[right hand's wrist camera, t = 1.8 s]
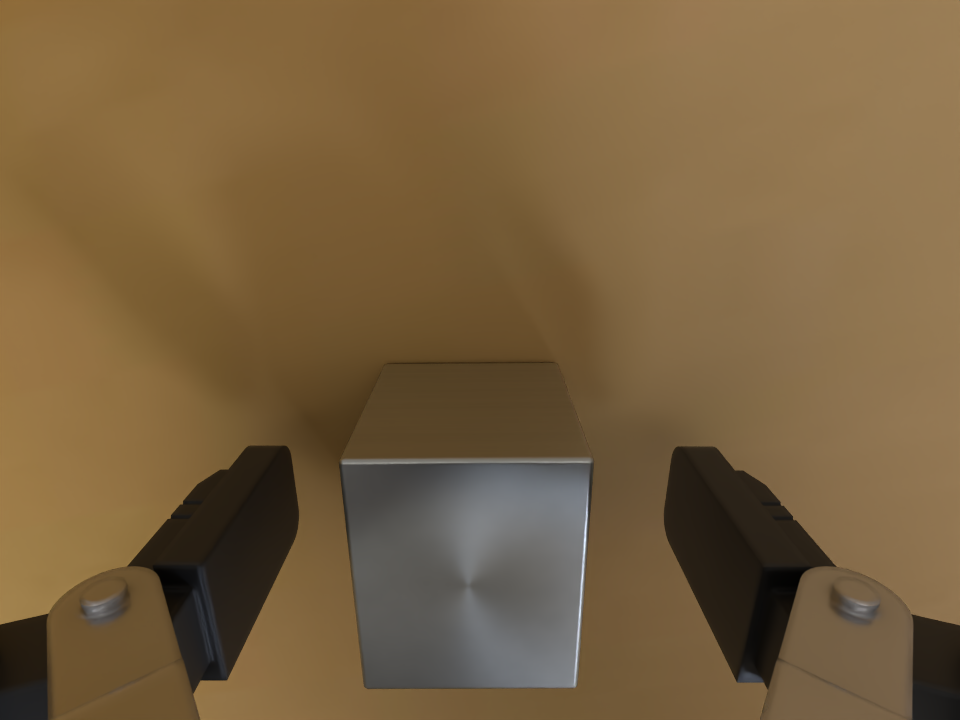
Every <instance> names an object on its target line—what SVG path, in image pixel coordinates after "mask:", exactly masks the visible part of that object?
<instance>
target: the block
mask: <svg viewBox="0 0 960 720" xmlns="http://www.w3.org/2000/svg"><path fill="white" fill-rule="evenodd" d="M339 468H340V477H341V486H342V495H343V504H344V513H345V522H346V531H347V540H348V549H349V558H350V567H351V576H352V585H353V594H354V603H355V612H356V621H357V630H358V639H359V649H360V658H361V667H362V676H363V684H364V687H365V688H367V689H492V688H575V687H576V686H577V684H578V674H579V660H580V647H581V633H582V619H583V606H584V592H585V578H586V565H587V551H588V537H589V524H590V510H591V496H592V483H593V469H594V459H593V457H592V454H591V451H590V449H589V446H588V443H587V441H586V438H585V435H584V433H583V430H582V427H581V425H580V422H579V419H578V417H577V414H576V411H575V409H574V406H573V403H572V401H571V398H570V395H569V393H568V390H567V387H566V385H565V382H564V379H563V377H562V374H561V371H560V369H559V366H558V364H556V363H449V364H386V365H384V367H383V369H382V371H381V374H380V376H379V378H378V380H377V382H376V384H375V386H374V388H373V390H372V393H371V395H370V397H369V399H368V401H367V403H366V405H365V407H364V409H363V412H362V414H361V416H360V418H359V420H358V422H357V424H356V426H355V428H354V431H353V433H352V435H351V437H350V439H349V441H348V443H347V445H346V447H345V450H344V452H343V454H342V456H341V458H340V461H339Z"/></svg>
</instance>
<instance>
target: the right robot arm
mask: <svg viewBox="0 0 960 720" xmlns="http://www.w3.org/2000/svg"><path fill="white" fill-rule="evenodd" d="M780 503H781V502H780V501H779V500H778V499H777V498H776V497H775V495H774V494H773V493H772V492H771V491H770V490H769V488H768V487H767V486H766V485H765V484H763V483H761V482H760V481H758V480H757V479H755V478H754V477H752V476H750V475H749V474H747V473H746V472H744V471H735V470H734V469H733V468H732V466H731V465H730V464H729V463H728V462H727V460H726V459H725V458H724V457H723V455H722V454H721V453H720V452H719V450H718V449H717V448H715V447H676V448H675V449H674V451H673V454H672V459H671V466H670V473H669V480H668V487H667V494H666V501H665V508H664V525H665V531H666V535H667V539H668V541H669V544H670V546H671V548H672V550H673V552H674V554H675V556H676V558H677V560H678V562H679V564H680V566H681V568H682V570H683V572H684V574H685V576H686V578H687V580H688V583H689V585H690V587H691V589H692V591H693V593H694V595H695V597H696V599H697V601H698V603H699V605H700V607H701V609H702V611H703V613H704V615H705V617H706V619H707V622H708V624H709V626H710V628H711V630H712V632H713V634H714V636H715V638H716V640H717V642H718V644H719V646H720V648H721V650H722V652H723V654H724V656H725V658H726V661H727V663H728V665H729V667H730V669H731V671H732V673H733V675H734V677H735V679H736V681H737V682H764V683H765V685H766V687H767V689H768V692H767V696H766V700H765V703H764V707H763V710H762V714H761V717H760V720H960V625H955V624H951V623H946V622H942V621H938V620H933V619H929V618H924V617H920V616H916V615H912V614H911V612H910V610H909V609H908V607H907V606H906V604H905V603H904V602H903V601H902V600H901V599H900V598H899V597H898V596H897V595H896V594H895V593H893V592H892V591H891V590H889V589H888V588H887V587H885V586H884V585H882V584H880V583H879V582H877V581H875V580H873V579H871V578H869V577H867V576H865V575H862V574H860V573H857V572H854V571H851V570H848V569H843V568H838V567H836V566H835V565H834V564H833V562H832V561H831V560H830V559H829V558H828V557H827V555H826V554H825V553H824V552H823V551H822V550H821V549H820V547H819V546H818V545H817V544H816V543H815V542H814V540H813V539H812V538H811V537H810V536H809V535H808V534H807V532H806V531H805V530H804V529H803V528H802V527H801V525H800V524H799V523H798V522H797V521H796V520H793V516H792V515H791V514H790V513H789V512H788V510H787V509H786V508H785V507H784V506H781V504H780ZM298 521H299V509H298V501H297V494H296V487H295V480H294V473H293V466H292V458H291V453H290V451H289V449H288V447H287V446H248V447H247V448H246V449H245V450H244V451H243V452H242V453H241V455H240V456H239V457H238V458H237V460H236V461H235V462H234V463H233V465H232V466H231V467H230V468H229V470H219V471H218V472H216V473H214V474H213V475H211V476H210V477H208V478H207V479H205V480H204V481H202V482H200V483H199V484H197V486H196V487H195V488H194V489H193V490H192V491H191V493H190V494H189V495H188V496H187V497H186V498H185V500H184V501H183V505H179V507H178V508H177V509H176V510H175V511H174V512H173V514H172V515H171V519H167V521H166V522H165V523H164V524H163V525H162V526H161V528H160V529H159V530H158V531H157V532H156V533H155V535H154V536H153V537H152V538H151V539H150V540H149V542H148V543H147V544H146V545H145V546H144V547H143V549H142V550H141V551H140V552H139V553H138V554H137V556H136V557H135V558H134V559H133V560H132V561H131V563H130V564H129V565H128V566H127V567H122V568H117V569H112V570H109V571H106V572H103V573H100V574H98V575H95V576H93V577H91V578H89V579H87V580H85V581H83V582H81V583H80V584H78V585H76V586H75V587H73V588H72V589H71V590H69V591H68V592H67V593H65V594H64V595H63V596H62V597H61V598H60V599H59V600H58V601H57V602H56V603H55V604H54V606H53V607H52V609H51V610H50V612H49V614H45V615H41V616H36V617H32V618H28V619H23V620H19V621H14V622H10V623H5V624H1V625H0V720H200V717H199V714H198V710H197V707H196V703H195V700H194V696H193V693H194V691H195V690H196V688H197V686H198V684H199V682H200V680H227V679H228V677H229V675H230V673H231V671H232V669H233V667H234V665H235V663H236V661H237V658H238V656H239V654H240V652H241V650H242V648H243V646H244V644H245V642H246V640H247V638H248V636H249V634H250V631H251V629H252V627H253V625H254V623H255V621H256V619H257V617H258V615H259V613H260V611H261V609H262V607H263V604H264V602H265V600H266V598H267V596H268V594H269V592H270V590H271V588H272V586H273V584H274V582H275V580H276V577H277V575H278V573H279V571H280V569H281V567H282V565H283V563H284V561H285V559H286V557H287V555H288V553H289V550H290V548H291V546H292V544H293V542H294V540H295V537H296V534H297V529H298Z"/></svg>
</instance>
